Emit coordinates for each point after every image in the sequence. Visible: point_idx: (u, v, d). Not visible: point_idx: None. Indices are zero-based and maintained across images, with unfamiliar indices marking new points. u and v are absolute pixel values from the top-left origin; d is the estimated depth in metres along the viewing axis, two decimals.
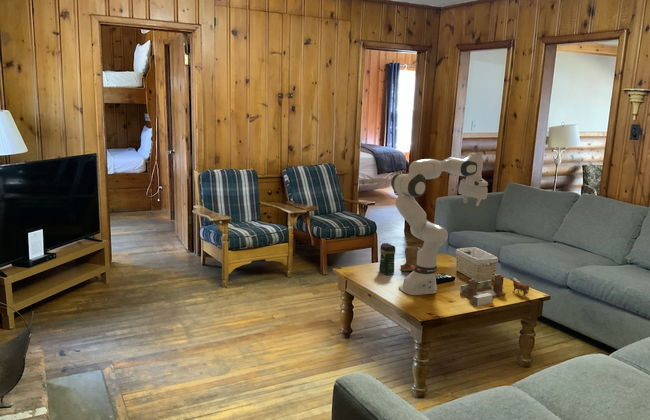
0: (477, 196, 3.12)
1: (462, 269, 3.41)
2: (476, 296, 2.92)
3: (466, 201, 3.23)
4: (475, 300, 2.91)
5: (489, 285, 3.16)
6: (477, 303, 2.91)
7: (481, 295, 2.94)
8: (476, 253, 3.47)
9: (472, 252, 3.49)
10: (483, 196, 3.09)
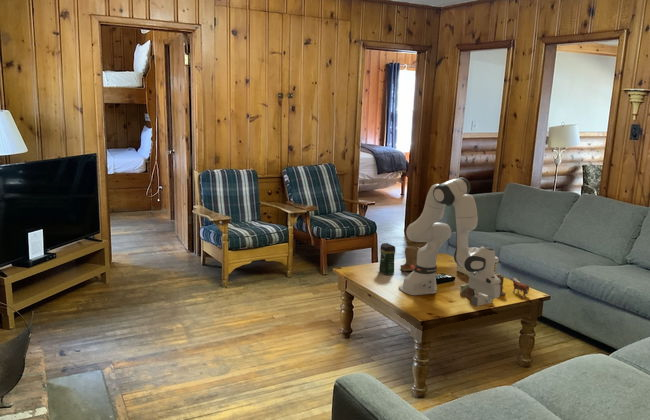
0: (489, 294, 2.87)
1: (463, 269, 3.41)
2: (476, 296, 2.92)
3: None
4: (475, 300, 2.91)
5: None
6: (477, 303, 2.91)
7: (481, 295, 2.94)
8: None
9: None
10: (495, 295, 2.84)
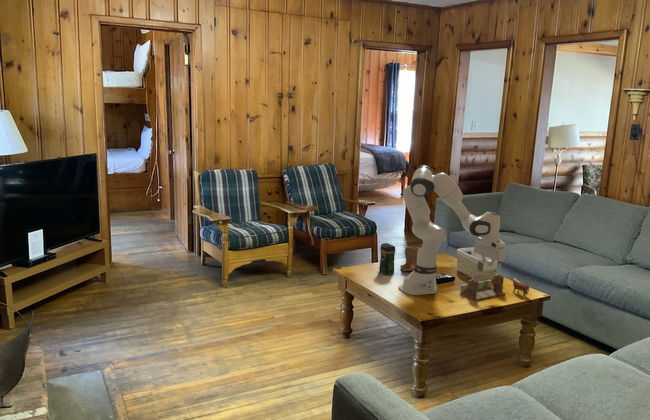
0: (494, 258, 2.95)
1: (463, 269, 3.41)
2: (482, 262, 3.00)
3: None
4: (481, 266, 2.99)
5: (489, 285, 3.16)
6: (483, 268, 2.99)
7: (486, 261, 3.02)
8: None
9: (473, 252, 3.49)
10: (501, 258, 2.92)
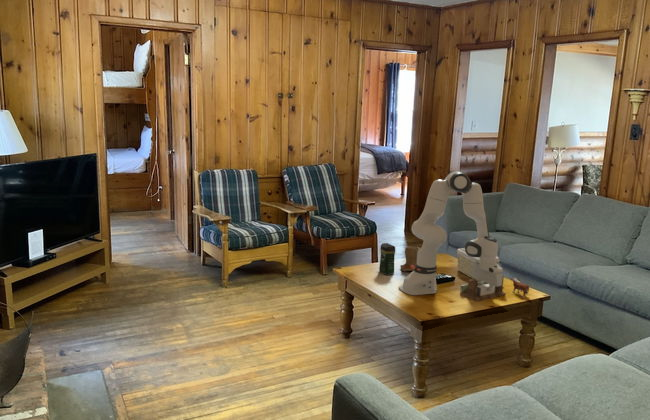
0: (492, 283, 2.98)
1: (463, 269, 3.41)
2: (479, 286, 3.04)
3: None
4: (478, 290, 3.02)
5: None
6: (480, 293, 3.02)
7: (484, 285, 3.05)
8: None
9: None
10: (498, 283, 2.95)
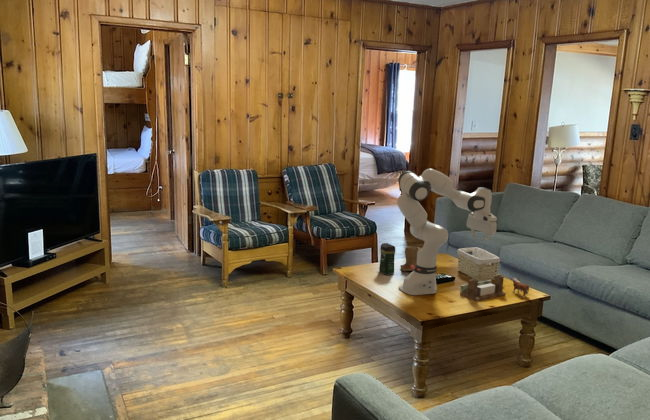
0: (486, 231, 3.07)
1: (464, 269, 3.41)
2: (479, 286, 3.04)
3: (474, 235, 3.18)
4: (478, 290, 3.02)
5: None
6: (480, 293, 3.02)
7: (484, 285, 3.05)
8: (477, 253, 3.47)
9: (474, 252, 3.49)
10: (492, 231, 3.04)
